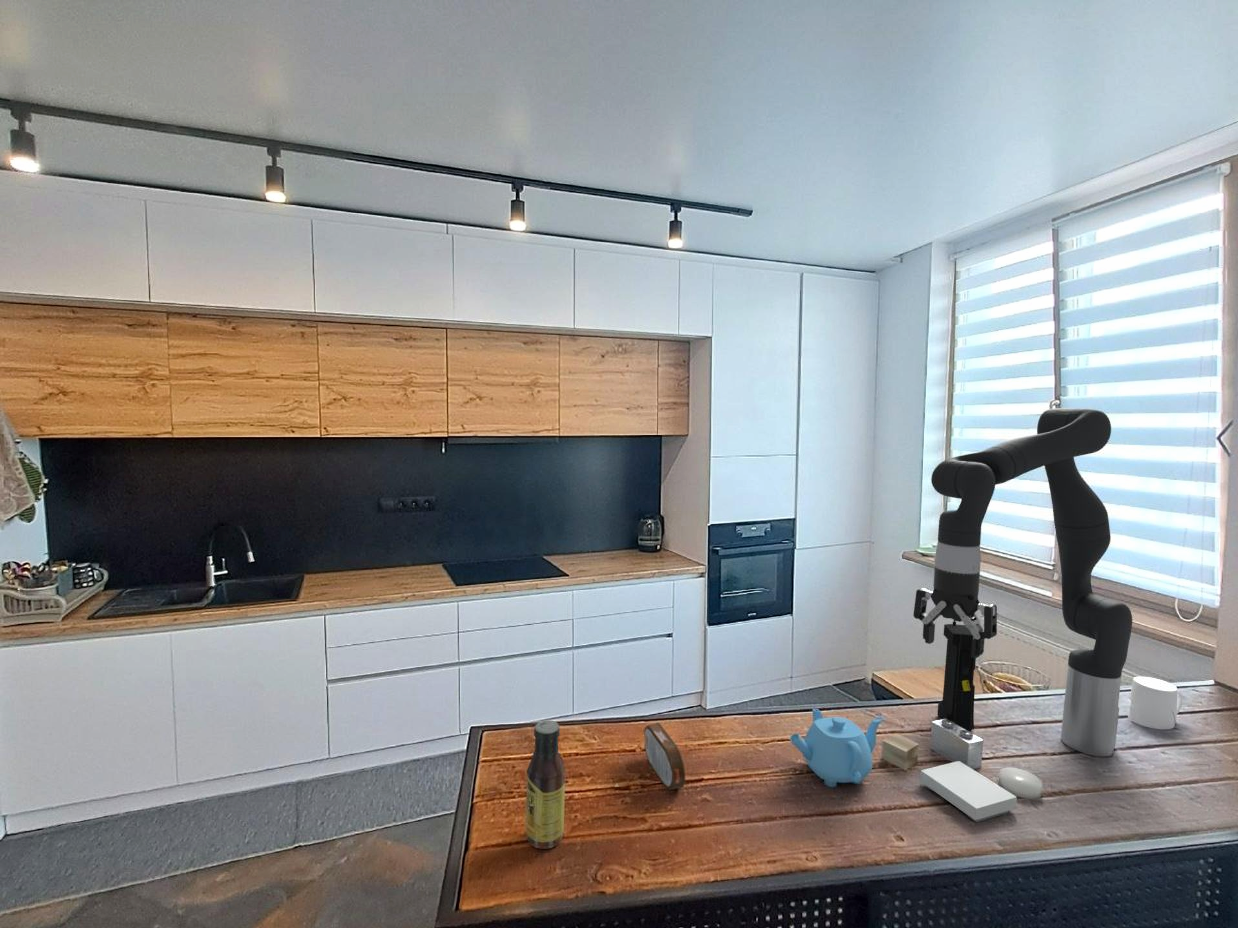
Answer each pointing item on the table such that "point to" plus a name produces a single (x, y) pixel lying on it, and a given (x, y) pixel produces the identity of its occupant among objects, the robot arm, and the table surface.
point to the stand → (968, 790)
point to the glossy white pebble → (1020, 783)
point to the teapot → (838, 748)
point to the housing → (956, 743)
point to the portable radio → (958, 678)
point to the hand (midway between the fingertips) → (951, 649)
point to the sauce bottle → (545, 789)
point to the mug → (1154, 703)
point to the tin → (664, 756)
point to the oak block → (900, 751)
